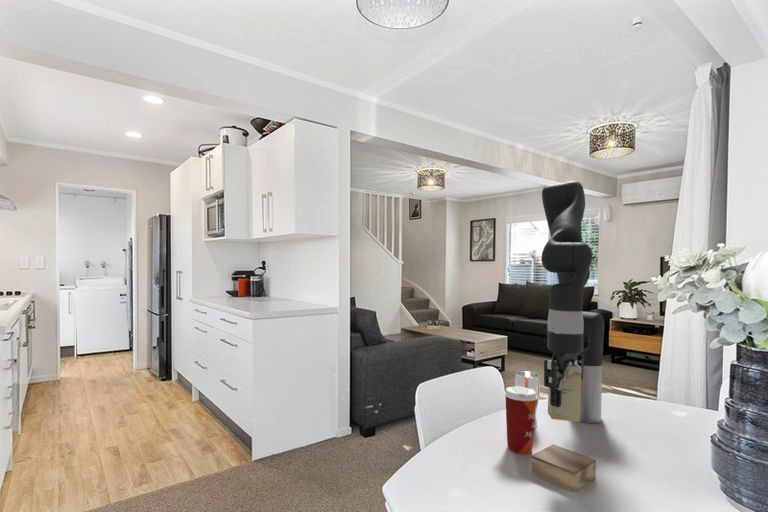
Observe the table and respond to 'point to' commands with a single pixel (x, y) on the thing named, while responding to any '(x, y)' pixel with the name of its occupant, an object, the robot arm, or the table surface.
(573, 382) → the skincare box
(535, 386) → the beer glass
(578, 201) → the robot arm
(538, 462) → the pedestal
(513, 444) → the coffee cup
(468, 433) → the table surface
